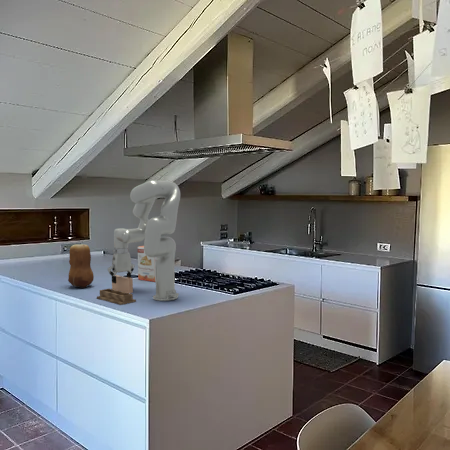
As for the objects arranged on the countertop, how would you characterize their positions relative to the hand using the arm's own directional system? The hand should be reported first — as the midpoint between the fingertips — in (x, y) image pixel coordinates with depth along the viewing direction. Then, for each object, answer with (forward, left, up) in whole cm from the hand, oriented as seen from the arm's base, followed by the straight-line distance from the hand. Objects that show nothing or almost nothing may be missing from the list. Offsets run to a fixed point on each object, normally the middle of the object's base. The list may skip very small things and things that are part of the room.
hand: (121, 281), depth 255 cm
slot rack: (-16, +15, -5) cm, 23 cm away
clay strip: (0, 0, -5) cm, 5 cm away
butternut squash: (+26, +10, -5) cm, 28 cm away
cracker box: (+13, -29, -5) cm, 32 cm away
